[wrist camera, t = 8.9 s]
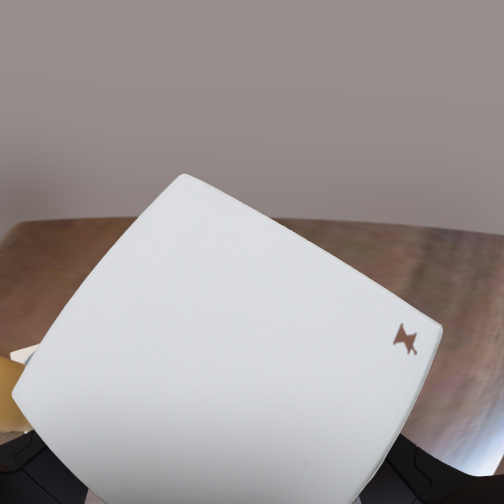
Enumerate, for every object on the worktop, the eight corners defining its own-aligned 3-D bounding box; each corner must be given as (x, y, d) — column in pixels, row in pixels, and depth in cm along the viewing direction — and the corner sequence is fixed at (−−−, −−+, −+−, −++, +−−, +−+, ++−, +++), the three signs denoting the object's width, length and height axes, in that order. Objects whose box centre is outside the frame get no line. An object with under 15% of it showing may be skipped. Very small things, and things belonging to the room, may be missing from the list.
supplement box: (220, 303, 18) (187, 158, 6) (316, 365, 16) (458, 324, 5) (153, 390, 15) (0, 389, 3) (250, 457, 13) (270, 590, 2)
